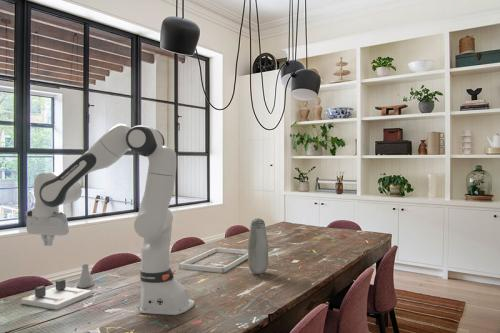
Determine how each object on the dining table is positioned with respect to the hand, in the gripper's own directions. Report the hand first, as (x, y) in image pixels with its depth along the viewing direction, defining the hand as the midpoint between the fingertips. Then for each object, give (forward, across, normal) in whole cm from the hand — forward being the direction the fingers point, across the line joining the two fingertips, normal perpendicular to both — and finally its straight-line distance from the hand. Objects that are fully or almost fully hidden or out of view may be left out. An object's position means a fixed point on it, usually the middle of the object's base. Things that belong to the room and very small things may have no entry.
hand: (48, 245), depth 157 cm
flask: (+24, +4, -23) cm, 34 cm away
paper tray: (+25, -34, -84) cm, 94 cm away
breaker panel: (+24, +2, -5) cm, 25 cm away
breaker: (+21, +5, -10) cm, 24 cm away
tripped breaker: (+21, +6, 0) cm, 22 cm away
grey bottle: (+26, -66, -68) cm, 98 cm away
